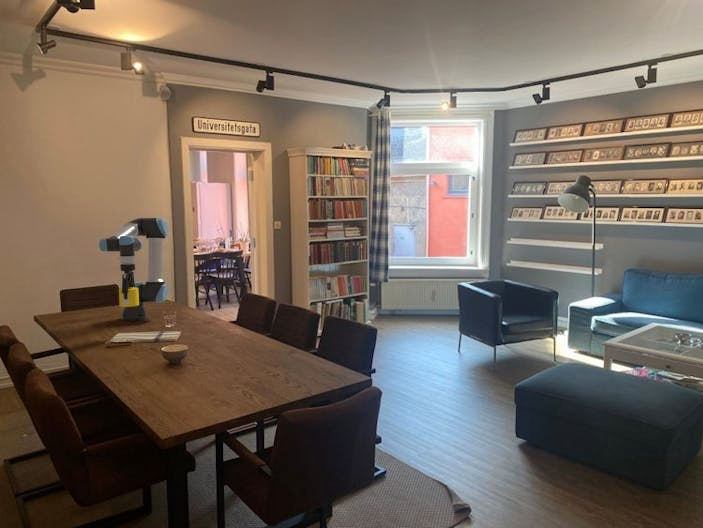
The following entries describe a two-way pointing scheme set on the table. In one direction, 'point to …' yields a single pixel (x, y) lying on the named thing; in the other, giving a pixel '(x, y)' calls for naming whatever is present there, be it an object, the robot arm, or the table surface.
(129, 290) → the tape roll
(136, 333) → the board
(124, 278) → the robot arm
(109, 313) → the table surface
